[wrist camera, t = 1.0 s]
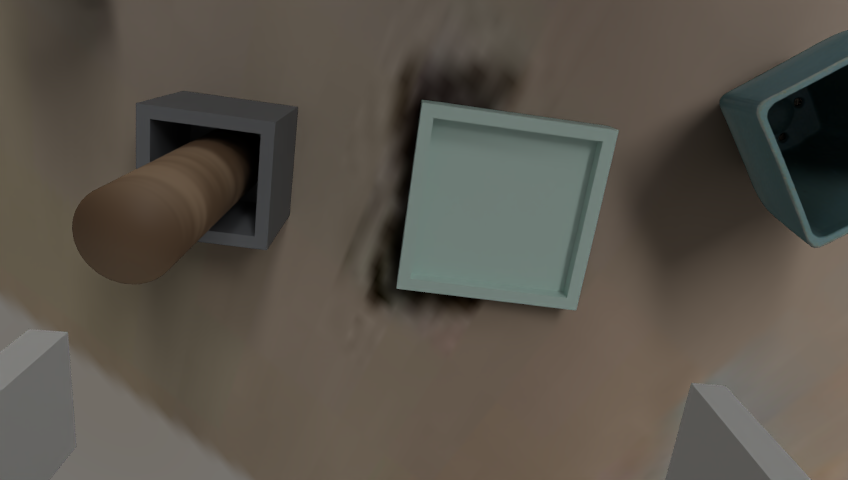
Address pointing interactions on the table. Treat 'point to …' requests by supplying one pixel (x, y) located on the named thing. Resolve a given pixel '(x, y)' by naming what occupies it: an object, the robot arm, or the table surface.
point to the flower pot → (798, 139)
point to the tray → (503, 205)
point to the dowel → (164, 206)
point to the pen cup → (202, 113)
